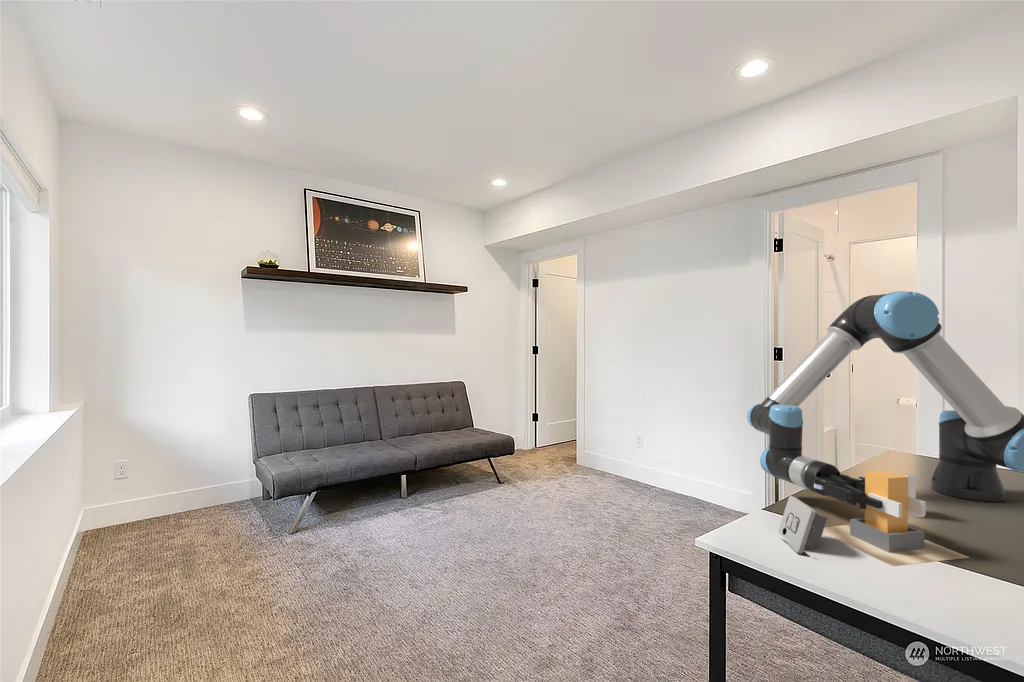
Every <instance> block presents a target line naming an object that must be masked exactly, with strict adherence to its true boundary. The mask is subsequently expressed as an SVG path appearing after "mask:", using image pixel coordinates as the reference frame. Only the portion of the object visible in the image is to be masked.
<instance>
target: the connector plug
mask: <svg viewBox="0 0 1024 682" xmlns="http://www.w3.org/2000/svg"><path fill="white" fill-rule="evenodd" d="M864 474H865V475H864V478H865V493H866V496H868V493H872V494H875V495H878V496H881V497H884V498H887V499H890V500H893V501H896V502H899V503H902V517H901V518H898V517H895V516H893V515H890V514H887V513H885V512H882V511H879V510H877V509H874V508H871V507H869V506H868V505H866V509H864V518H865V524H867V525H870V526H872V527H874V528H877V529H879V530H882V531H884V532H886V533H898V532H908V526H909V515H908V477H907V476H906V475H902V474H899V473H896V472H893V471H888V470H886V469H885V470H884V469H881V470H870V471H869V470H867V471H865V472H864Z"/></svg>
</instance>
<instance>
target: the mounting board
mask: <svg viewBox="0 0 1024 682" xmlns="http://www.w3.org/2000/svg"><path fill="white" fill-rule="evenodd" d="M822 534H824V535H826V536H829V537H830V538H833V539H834V540H837V541H839V542H841V543H843V544H845V545H848V546H850V547H852V548H854V549H856V550H858V551H860V552H862V553H863V554H866V555H869V556H870V557H872V558H874V559H876V560H879V561H881V562H882V563H885V564H887V565H889V566H891V567H897V566H906V565H916V564H923V563H924V564H925V563H933V562H934V563H935V562H942V561H949V560H950V561H951V560H952V561H953V560H959V559H968V558H970V556H967V555H965V554H963V553H960V552H958V551H955V550H953V549H949V548H948V547H944V546H943V545H940V544H937V543H934V542H932V541H930V540H927V539H925V541H924V549H918V550H909V551H899V552H890V553H889V552H887V551H884V550H882V549H880V548H878V547H876V546H873V545H871V544H869V543H867V542H865V541H862V540H860V539H858V538H856V537H854V536H851V535H850V524H845V525H844V524H843V525H834V526H825V527H824V530H823V533H822Z"/></svg>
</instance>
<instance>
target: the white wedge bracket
mask: <svg viewBox="0 0 1024 682" xmlns="http://www.w3.org/2000/svg"><path fill="white" fill-rule="evenodd" d="M905 476H907V477H908V496H910V497H913V498H916V494H917V493H916V492H917V490H916V489H917V488H916V487H917V486H916V484H917V483H916V482H917V481H916V480H917V476H916V475H915V474H914V475H913V474H912V475H911V474H908V475H907V474H906V475H905ZM916 499H917V498H916ZM908 516H911V517H914V518H923V517H924V518H925V515H924V516H922V515H919V514H916V513H914V512H911V511H908Z"/></svg>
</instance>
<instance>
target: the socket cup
mask: <svg viewBox="0 0 1024 682" xmlns="http://www.w3.org/2000/svg"><path fill="white" fill-rule="evenodd" d="M849 525H850V535H851V536H854V537H856V538H858V539H860V540H862V541H865V542H867V543H869V544H871V545H873V546H876V547H878V548H880V549H882V550H884V551H887V552H889V553H890V552H899V551H909V550H918V549H924V541H925V540H926V539H925V538H926V537H925V533H926V532H925V531H923V530H922V529H917V528H915V527H913V526H910V525H908V532H898V533H886V532H884V531H882V530H879V529H877V528H874V527H872V526H870V525H867V524H865V517H860V518H859V517H858V518H850V520H849Z"/></svg>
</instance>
